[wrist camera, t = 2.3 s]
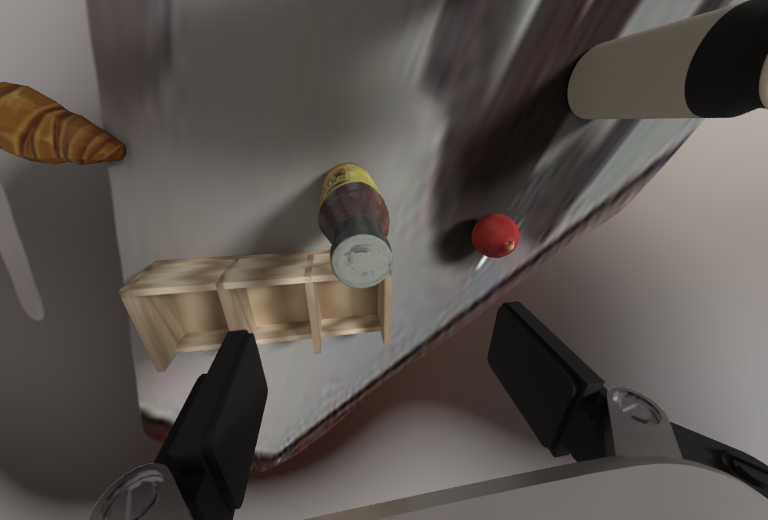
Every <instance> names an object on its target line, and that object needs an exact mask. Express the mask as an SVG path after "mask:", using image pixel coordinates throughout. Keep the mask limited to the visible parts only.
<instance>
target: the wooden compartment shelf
mask: <svg viewBox="0 0 768 520" xmlns="http://www.w3.org/2000/svg"><path fill="white" fill-rule="evenodd" d="M118 293H119V295H120V297H121V299H122V301H123V303H124V305H125V307H126V309H127V311H128V313H129V315H130V317H131V319H132V321H133V323H134V325H135V327H136V329H137V331H138V333H139V335H140V337H141V339H142V342H143V344H144V346H145V348H146V350H147V352H148V354H149V356H150V358H151V360H152V362H153V364H154V366H155V368H156V370H157V372H163V371H165V370H166V369H167V367H168V366H169V364H170V363H171V361H172V360H173V358H174V357H175V355H176V354H177V353H184V352H193V351H202V350H211V349H219V348H220V346H221V344H222V342H223V340H224V338H225V336H226V334H227V333H228V332H229V331H236V330H245V329H246V330H248V332H249V333H253V334H254V336H255V340H256V344H265V343H275V342H284V341H293V340H302V339H311V338H312V339H313V346H314V353H321V337H329V336H338V335H347V334H356V333H365V332H375V331H381V334H382V338H383V342H384V345H390V321H391V269H390V272H389V274H388V275H387V277H386V278H385V279H384V280H382V281H381V282H380V283H378V284H376V285H375V286H371V287H368V288H353V287H349V286H347V285H345V284H343V283H342V282H341V281H339V280H338V278H337V277H336V276H335V275H334V273H333V272H332V268H331V260H330V250H324V251H308V252H292V253H276V254H261V255H245V256H229V257H213V258H197V259H181V260H166V261H155V262H154V263H153V264H151V265H150V266H149V267H147V268H146V269H145V270H144V271H142V272H141V273H140V274H139V275H137V276H136V277H135V278H134V279H132V280H131V281H130V282H129V283H127V284H126V285H125V286H124V287H122V288H121V289H120V290H119V291H118Z"/></svg>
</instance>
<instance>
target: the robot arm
mask: <svg viewBox="0 0 768 520" xmlns="http://www.w3.org/2000/svg"><path fill="white" fill-rule="evenodd" d="M488 363H489V365H490V367H491V368H492V370H493V371H494V373H495V374H496V376H497V377H498V379H499V380H500V382H501V383H502V385H503V386H504V388H505V390H506V391H507V393H508V394H509V396H510V397H511V399H512V400H513V402H514V403H515V405H516V406H517V407H518V409H519V411H520V412H521V414H522V415H523V417H524V418H525V420H526V421H527V423H528V424H529V426H530V427H531V429H532V430H533V432H534V433H535V435H536V436H537V438H538V439H539V441H540V442H541V444H542V445H543V446H544V447H546V448H548V449H549V450H550V452H551V453H552V455H553V456H554V457H560V456H565V455H569V453H570V454H571V455H572V456H573V458H574V459H575V463H572V464H566V465H561V466H556V467H551V468H546V469H541V470H536V471H532V472H526V473H521V474H517V475H512V476H507V477H502V478H497V479H492V480H488V481H483V482H478V483H473V484H468V485H463V486H459V487H454V488H450V489H445V490H440V491H435V492H430V493H425V494H421V495H416V496H412V497H407V498H402V499H397V500H392V501H388V502H383V503H378V504H374V505H369V506H365V507H360V508H355V509H351V510H346V511H341V512H337V513H332V514H327V515H323V516H318V517H314V518H309V519H305V520H768V466H767V465H766V464H764V463H762V462H761V461H759V460H757V459H756V458H754V457H752V456H750V455H748V454H746V453H744V452H742V451H740V450H737V449H735V448H732V447H730V446H728V445H725V444H723V443H720V442H718V441H716V440H713V439H710V438H708V437H705V436H703V435H701V434H698V433H696V432H694V431H691V430H689V429H686V428H684V427H682V426H679V425H676V424H674V423H672V422H670V421H669V418H668V417H667V415H666V413H665V411H664V410H663V409H662V408H661V407H660V406H659V405H658V404H657V403H656V402H654V401H653V400H652V399H651V398H649V397H647V396H646V395H644V394H642V393H641V392H638V391H636V390H633V389H631V388H626V387H621V386H615V387H612V388H610V389H609V390H607V389H606V388H605V387H603V385H604V383H605V382H604V381H603V380H602V379H601V378H600V377H599V376H598V375H597V374H596V373H595V372H594V371H593V370H592V369H590V367H588V366H587V365H586V364H585V363H584V362H583V361H582V360H581V359H580V358H579V357H578V356H577V355H576V354H575V353H574V352H572V351H571V350H570V349H569V348H568V347H567V346H566V345H565V344H564V343H563V342H562V341H561V340H559V338H558V337H556V336H555V335H554V334H553V333H552V332H551V331H550V330H549V329H548V328H547V327H546V326H545V325H544V324H543V323H541V322H540V321H539V320H538V319H537V318H536V317H535V316H534V315H533V314H532V313H531V312H530V311H529V310H528V309H526V307H524V306H523V305H522V304H521V303H520V302H517V301H516V302H507V303H503V304H502V306H501V307H499V309H498V312H497V317H496V321H495V325H494V330H493V334H492V339H491V343H490V348H489V352H488ZM267 393H268V388H267V383H266V379H265V375H264V371H263V367H262V363H261V359H260V355H259V351H258V348H257V344H256V340H255V336H254V334H253V333H249V332H248V330H246V329H245V330H236V331H229V332H228V333H227V334H226V336H225V338H224V340H223V342H222V344H221V346H220V348H219V350H218V353H217V355H216V357H215V359H214V361H213V363H212V365H211V367H210V369H209V371H208V373H207V374H202V375H201V376H199V378H198V379H197V381H196V383H195V384H194V386H193V388H192V390H191V392H190V394H189V396H188V398H187V400H186V402H185V404H184V406H183V408H182V409H181V411H180V413H179V415H178V417H177V419H176V421H175V423H174V425H173V427H172V429H171V431H170V433H169V434H168V436H167V438H166V440H165V442H164V444H163V446H162V448H161V450H160V452H159V454H158V456H157V458H156V459H155V461H154V463H152V464H146V465H143V466H141V467H138V468H136V469H134V470H132V471H130V472H129V473H127V474H125V475H124V476H122V477H121V478H120V479H119V480H117V481H116V482H115V483H114V484H112V486H111V487H109V489H108V490H107V491H106V492H105V493H104V494H103V495H102V496H101V498H100V499H99V500H98V502H97V503H96V505H95V506H94V508H93V510H92V513H91V515H90V518H89V520H233V516H234V512H235V509H239V508H240V507H241V505H242V503H243V499H244V495H245V491H246V486H247V482H248V478H249V473H250V469H251V465H252V460H253V456H254V452H255V447H256V443H257V439H258V434H259V430H260V426H261V421H262V417H263V413H264V408H265V404H266V399H267Z"/></svg>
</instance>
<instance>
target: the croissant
mask: <svg viewBox="0 0 768 520" xmlns="http://www.w3.org/2000/svg"><path fill="white" fill-rule="evenodd" d="M0 148H1V149H3V150H5V151H7V152H9V153H11V154H14V155H17V156H19V157H22V158H24V159H27V160H30V161H35V162H44V163H53V164H58V163H64V162H72V163H76V164H80V165H82V164H92V163H101V162H109V161H116V160H122V159H123V158H124V157H125V154H126V147H125V145H124V144H122V143H121V142H120V141H118V140H117V139H116V138H114V137H113V136H112V135H110V134H109V133H107V132H106V131H104V130H102V129H101V128H99V127H98V126H96V125H95V124H93V123H92V122H90V121H88V120H87V119H86V118H84V117H83V116H81V115H78V114H74V113H71V112H69V111H68V110H67V109H65V108H64V107H62V106H61V105H60V104H58V103H57V102H56V101H54V100H52V99H50V98H48V97H46V96H45V95H43V94H41V93H39V92H38V91H36V90H34V89H32V88H30V87H28V86H23V85H17V84H12V83H6V82H2V83H0Z"/></svg>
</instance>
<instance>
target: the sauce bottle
mask: <svg viewBox="0 0 768 520" xmlns="http://www.w3.org/2000/svg"><path fill="white" fill-rule="evenodd" d="M318 221H319V226H320V229H321V231H322V232H323V233H324V235H325V236H326V237H327V239H328V240H329V241H330V243H331V244H332V246H331V249H330V260H331V268H332V272H333V273H334V275H335V276H336V277H337V278H338V280H339V281H341V282H342V283H343V284H345V285H347V286H349V287H353V288H368V287H371V286H375V285H376V284H378V283H380V282H381V281H382V280H384V279H385V278H386V277H387V275H388V274H389V272H390V269H391V267H392V264H393V255H392V251H391V247H390V245H389V242H388V240H387V238H386V237H387V235H388V231H389V222H390V220H389V213H388V210H387V207H386V205H385V202H384V200H383V198H382V196H381V194H380V192H379V190H378V189H377V187H376V185H375V183H374V181H373V179H372V177H371V176H370V174H369V173H368V172H367V171H366V170H365V169H363V168H362V167H360V166H358V165H357V164H353V163H346V164H339V165H338V166H336V167H335V168H333V169H332V170H331V171H330V172H329V173H328V174H327V176H326V178H325V180H324V182H323V188H322V194H321V200H320V207H319V215H318Z"/></svg>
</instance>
